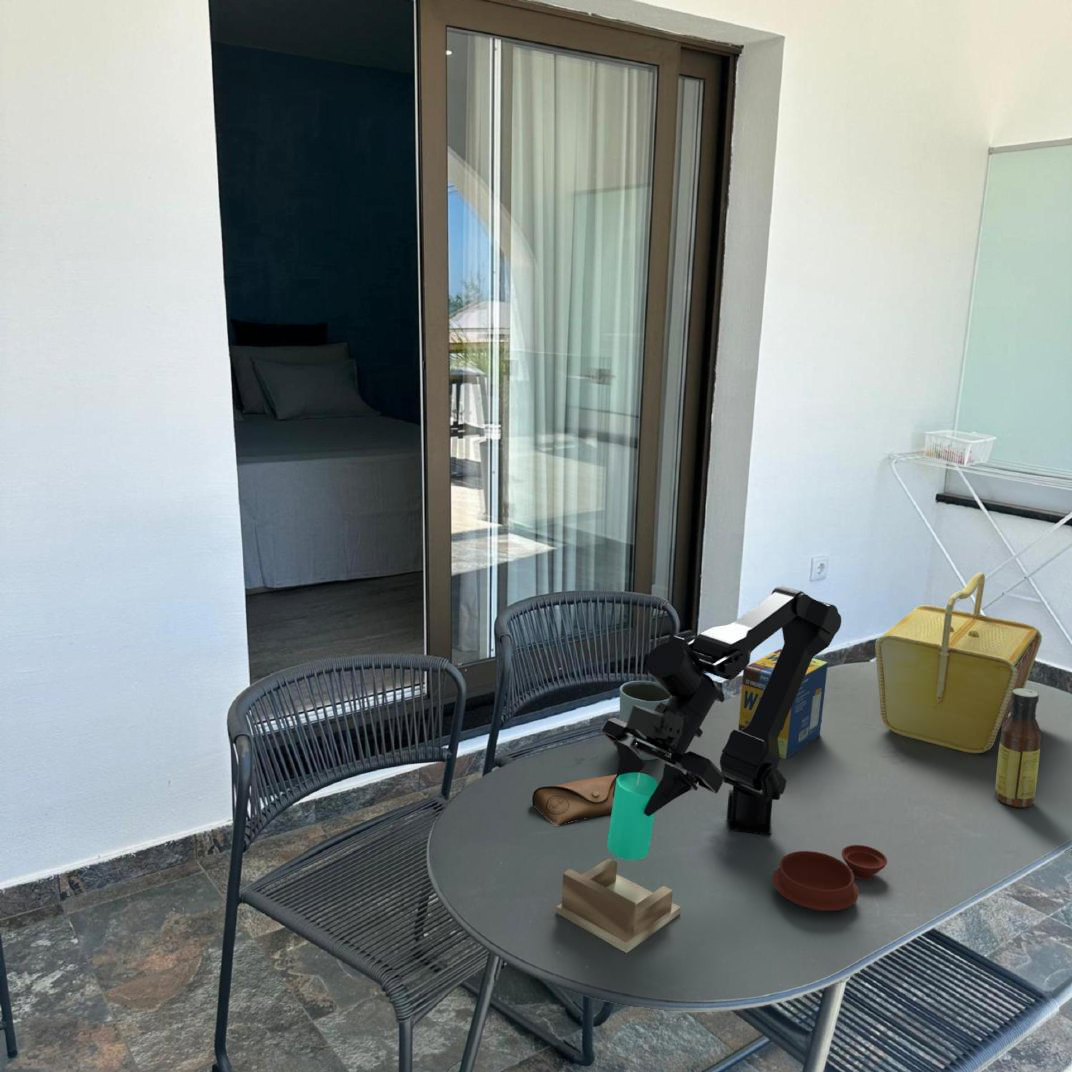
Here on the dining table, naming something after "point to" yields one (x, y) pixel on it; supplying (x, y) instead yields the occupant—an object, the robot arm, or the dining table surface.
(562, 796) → the sunglasses case
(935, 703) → the picnic basket
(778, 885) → the pottery
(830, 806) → the dining table surface
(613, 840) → the candle
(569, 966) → the dining table surface
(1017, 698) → the sauce bottle
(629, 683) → the pale green cup
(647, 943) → the dining table surface
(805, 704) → the protein box
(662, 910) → the dock
